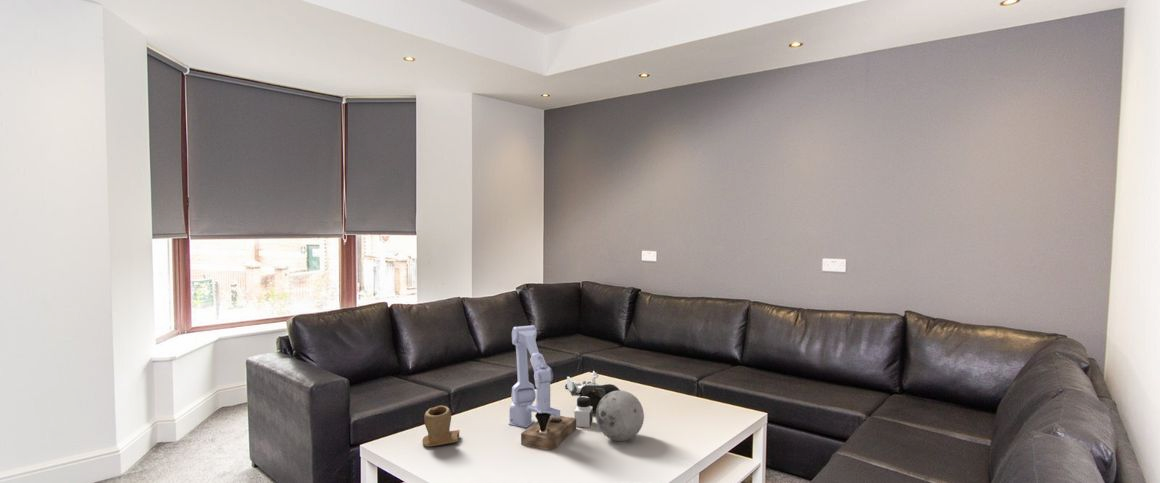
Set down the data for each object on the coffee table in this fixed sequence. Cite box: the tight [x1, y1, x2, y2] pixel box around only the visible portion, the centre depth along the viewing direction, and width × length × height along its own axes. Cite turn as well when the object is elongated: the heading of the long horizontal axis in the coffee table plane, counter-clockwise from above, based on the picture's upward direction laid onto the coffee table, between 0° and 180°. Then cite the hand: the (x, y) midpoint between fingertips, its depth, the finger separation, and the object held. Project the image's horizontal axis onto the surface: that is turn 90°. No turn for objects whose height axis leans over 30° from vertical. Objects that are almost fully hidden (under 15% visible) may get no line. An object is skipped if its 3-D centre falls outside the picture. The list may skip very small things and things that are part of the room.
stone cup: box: [421, 405, 461, 447], centre depth 214 cm, size 15×12×15 cm
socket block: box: [520, 415, 577, 451], centre depth 222 cm, size 14×24×4 cm, turn 157°
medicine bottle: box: [573, 396, 594, 428], centre depth 235 cm, size 7×7×12 cm
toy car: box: [564, 370, 600, 396], centre depth 283 cm, size 18×10×12 cm
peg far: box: [552, 414, 561, 423], centre depth 227 cm, size 4×4×4 cm
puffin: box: [579, 383, 620, 413], centre depth 254 cm, size 20×21×13 cm
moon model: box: [595, 389, 645, 442], centre depth 219 cm, size 20×20×20 cm
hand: (543, 430), depth 216 cm, fingers closed, pressing on peg near
